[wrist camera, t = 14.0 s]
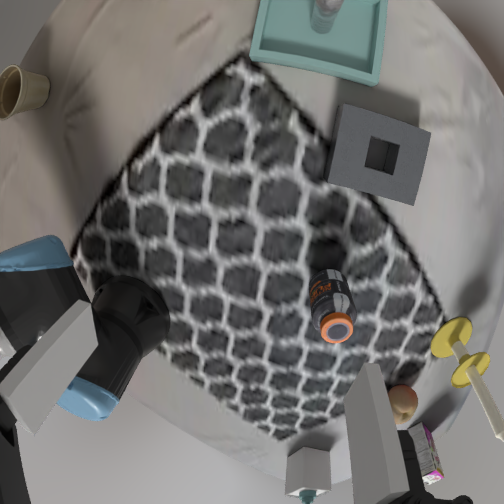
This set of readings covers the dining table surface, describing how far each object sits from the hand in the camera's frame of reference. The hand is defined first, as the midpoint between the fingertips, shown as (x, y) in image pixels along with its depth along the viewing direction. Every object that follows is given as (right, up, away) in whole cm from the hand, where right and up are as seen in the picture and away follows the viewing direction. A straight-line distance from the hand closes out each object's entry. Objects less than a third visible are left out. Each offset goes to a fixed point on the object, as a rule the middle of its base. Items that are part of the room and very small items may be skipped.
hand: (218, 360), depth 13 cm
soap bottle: (+17, -50, +52) cm, 75 cm away
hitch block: (+18, +18, +23) cm, 34 cm away
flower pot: (-36, +33, +23) cm, 54 cm away
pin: (+10, +34, +16) cm, 39 cm away
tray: (+11, +34, +16) cm, 40 cm away
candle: (+40, -12, +33) cm, 53 cm away
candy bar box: (+47, -44, +46) cm, 79 cm away
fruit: (+32, -25, +39) cm, 56 cm away
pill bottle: (+13, 0, +31) cm, 34 cm away
